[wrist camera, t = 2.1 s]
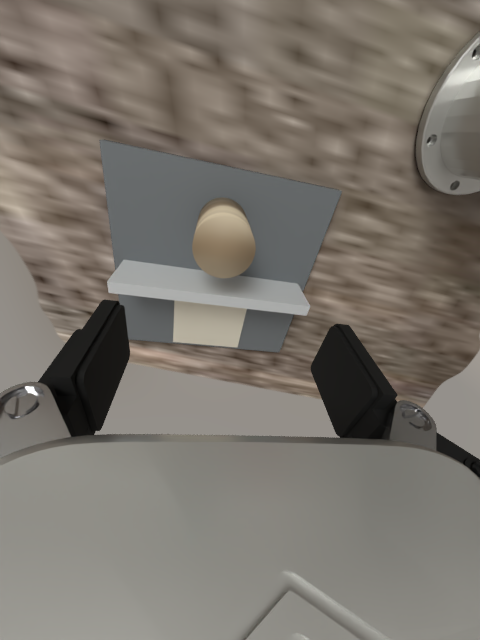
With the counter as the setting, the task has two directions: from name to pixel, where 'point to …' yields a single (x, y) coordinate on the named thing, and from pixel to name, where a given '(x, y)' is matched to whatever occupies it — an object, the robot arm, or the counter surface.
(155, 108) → the counter surface
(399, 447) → the robot arm
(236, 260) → the birch cylinder
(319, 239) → the fence board
